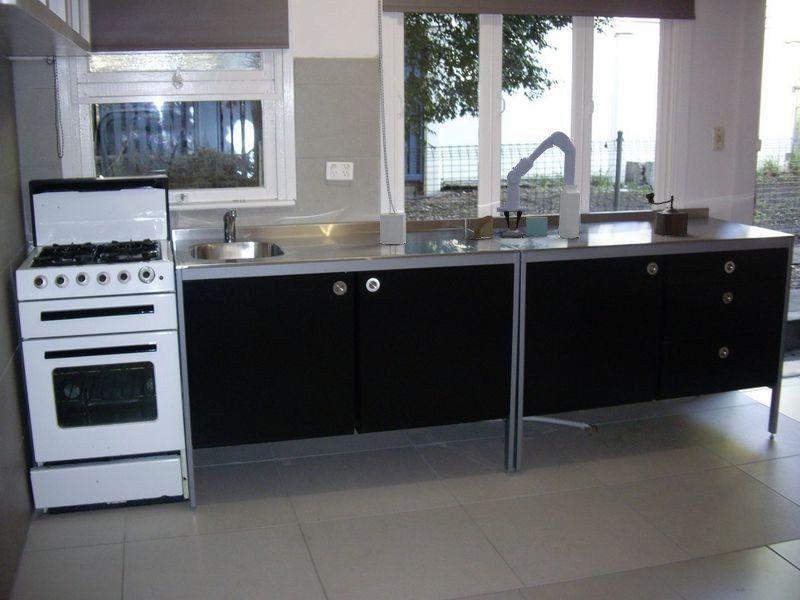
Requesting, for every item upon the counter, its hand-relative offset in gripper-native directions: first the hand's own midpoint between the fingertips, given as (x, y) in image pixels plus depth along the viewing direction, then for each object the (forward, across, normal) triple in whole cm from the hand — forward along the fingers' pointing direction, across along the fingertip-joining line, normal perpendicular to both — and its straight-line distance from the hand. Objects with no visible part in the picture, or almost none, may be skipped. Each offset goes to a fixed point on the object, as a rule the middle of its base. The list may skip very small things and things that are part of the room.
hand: (512, 228), depth 388 cm
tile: (+2, +10, -14) cm, 18 cm away
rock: (+2, -12, -26) cm, 28 cm away
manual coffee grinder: (+2, +65, -4) cm, 65 cm away
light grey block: (+2, -47, -44) cm, 65 cm away
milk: (+2, +24, -20) cm, 31 cm away
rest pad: (+1, 0, -17) cm, 17 cm away
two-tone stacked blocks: (+1, 0, -4) cm, 4 cm away
